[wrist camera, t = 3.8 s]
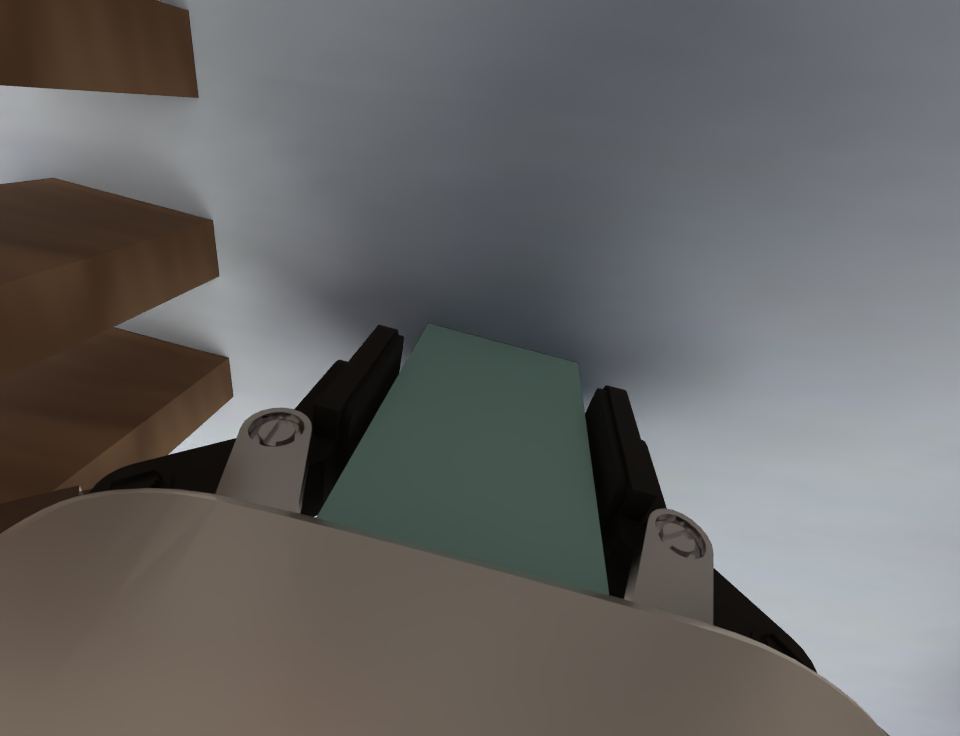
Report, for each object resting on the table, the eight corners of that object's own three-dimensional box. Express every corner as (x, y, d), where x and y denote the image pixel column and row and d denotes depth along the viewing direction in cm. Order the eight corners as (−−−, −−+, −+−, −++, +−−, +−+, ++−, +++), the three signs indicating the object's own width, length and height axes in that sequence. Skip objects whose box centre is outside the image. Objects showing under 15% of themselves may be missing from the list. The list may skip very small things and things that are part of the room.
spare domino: (428, 323, 13) (272, 594, 6) (577, 363, 13) (621, 686, 6) (420, 369, 14) (276, 654, 7) (559, 406, 14) (577, 733, 7)
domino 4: (96, 323, 15) (-357, 528, 8) (228, 358, 15) (-90, 598, 8) (108, 363, 16) (-284, 582, 9) (233, 396, 16) (-47, 645, 9)
